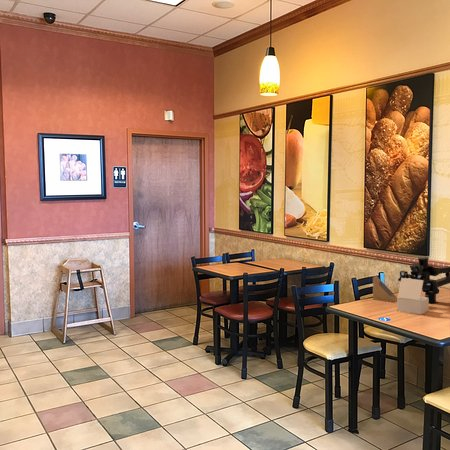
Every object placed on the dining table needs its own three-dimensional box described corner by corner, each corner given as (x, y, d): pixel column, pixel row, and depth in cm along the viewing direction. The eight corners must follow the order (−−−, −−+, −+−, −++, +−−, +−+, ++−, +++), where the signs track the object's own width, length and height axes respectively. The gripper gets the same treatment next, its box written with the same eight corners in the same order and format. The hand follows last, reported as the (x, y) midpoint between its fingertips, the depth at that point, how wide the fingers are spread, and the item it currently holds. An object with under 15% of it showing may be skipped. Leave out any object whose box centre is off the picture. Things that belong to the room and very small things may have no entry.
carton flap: (401, 278, 292) (401, 277, 292) (423, 280, 284) (423, 280, 283) (398, 297, 289) (397, 297, 289) (419, 300, 281) (419, 300, 280)
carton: (405, 307, 299) (405, 294, 299) (428, 310, 290) (428, 297, 289) (396, 311, 291) (397, 297, 290) (420, 315, 281) (420, 301, 281)
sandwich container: (397, 302, 313) (397, 279, 312) (372, 299, 321) (372, 277, 319) (399, 299, 321) (399, 276, 319) (375, 297, 328) (375, 275, 327)
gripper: (407, 260, 312) (391, 266, 304) (433, 264, 296) (416, 270, 288) (409, 277, 313) (392, 283, 306) (434, 282, 297) (418, 288, 290)
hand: (404, 281), depth 297 cm, fingers open, 9 cm apart
